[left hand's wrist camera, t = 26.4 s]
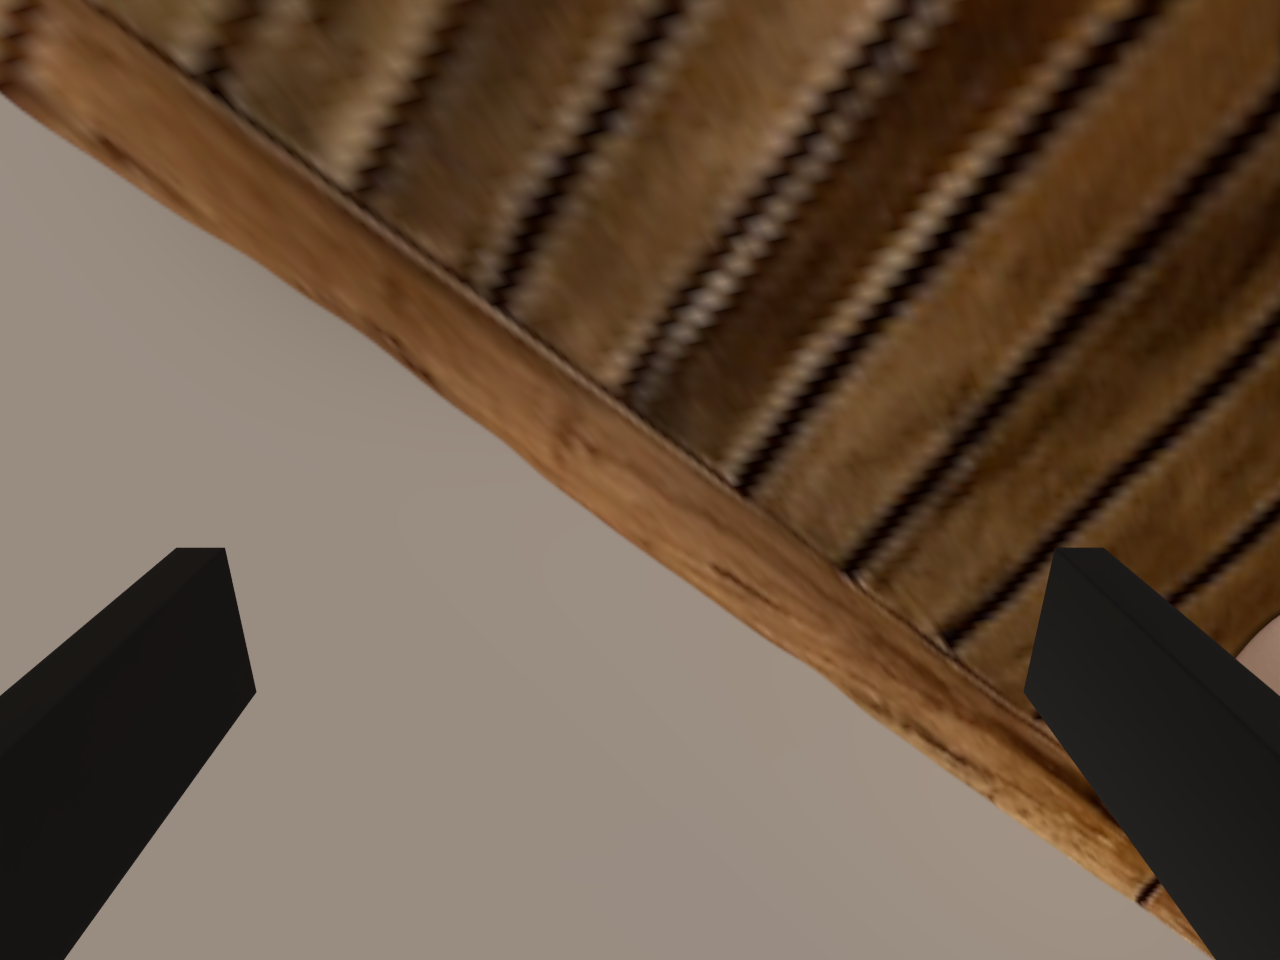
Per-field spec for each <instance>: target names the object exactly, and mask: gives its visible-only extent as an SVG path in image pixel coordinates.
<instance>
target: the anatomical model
mask: <svg viewBox="0 0 1280 960" xmlns="http://www.w3.org/2000/svg"><path fill="white" fill-rule="evenodd" d="M1236 659H1237V660H1238V661H1239V662H1240V663H1241V664H1242V665H1244V666H1245V667H1246V668H1247V669H1248V670H1250V671H1251V672H1252V673H1253V674H1254V675H1256V676H1257V677H1258V678H1259V679H1260V680H1262V681H1263V682H1264V683H1265V684H1266V685H1267V686H1269V687H1270V688H1271V689H1272V690H1273V691H1275V692H1276V693H1277V694H1278V695H1279V696H1280V615H1279V616H1277V617H1276V618H1275V619H1273V620H1272V621H1271V622H1270V623H1268V624H1267V625H1266V626H1265V627H1264V628H1263V629H1262V630H1260V631H1259V632H1258V633H1257V634H1256V636H1255V637H1254V638H1253V639H1252V640H1251V641H1250V642H1249V643H1248V644H1247V645H1246V646H1245V648H1244V649H1243V650H1242V651H1241V652H1240V653H1239V655H1238V656H1237V657H1236Z"/></svg>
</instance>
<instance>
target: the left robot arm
mask: <svg viewBox="0 0 1280 960" xmlns="http://www.w3.org/2000/svg"><path fill="white" fill-rule="evenodd" d="M255 693H256V688H255V684H254V679H253V674H252V670H251V665H250V661H249V656H248V651H247V647H246V642H245V638H244V633H243V628H242V624H241V619H240V615H239V610H238V605H237V601H236V596H235V592H234V587H233V583H232V578H231V573H230V569H229V564H228V560H227V555H226V550H225V548H176V549H174V550H173V551H172V552H171V553H170V554H168V555H167V556H166V557H165V558H164V559H163V560H161V561H160V562H159V563H158V564H157V565H155V566H154V567H153V568H152V569H151V570H149V571H148V572H147V573H146V574H145V575H143V576H142V577H141V578H140V579H139V580H138V581H136V582H135V583H134V584H133V585H132V586H130V587H129V588H128V589H127V590H126V591H125V592H123V593H122V594H121V595H120V596H118V597H117V598H116V599H115V600H114V601H113V602H111V603H110V604H109V605H108V606H107V607H105V608H104V609H103V610H102V611H101V612H99V613H98V614H97V615H96V616H95V617H94V618H92V619H91V620H90V621H89V622H88V623H86V624H85V625H84V626H83V627H82V628H80V629H79V630H78V631H77V632H76V633H75V634H73V635H72V636H71V637H70V638H69V639H67V640H66V641H65V642H64V643H63V644H61V645H60V646H59V647H58V648H57V649H55V650H54V651H53V652H52V653H51V654H49V655H48V656H47V657H46V658H45V659H43V660H42V661H41V662H40V663H39V664H38V665H36V666H35V667H34V668H33V669H32V670H30V671H29V672H28V673H27V674H26V675H24V676H23V677H22V678H21V679H20V680H18V681H17V682H16V683H15V684H14V685H13V686H11V687H10V688H9V689H8V690H7V691H5V692H4V693H3V694H2V695H1V696H0V960H64V959H65V958H66V956H67V955H68V953H69V952H70V951H71V949H72V948H73V947H74V945H75V944H76V942H77V941H78V940H79V938H80V937H81V935H82V934H83V932H84V931H85V930H86V928H87V927H88V926H89V924H90V923H91V921H92V920H93V919H94V917H95V916H96V915H97V913H98V912H99V910H100V909H101V908H102V906H103V905H104V903H105V902H106V901H107V899H108V898H109V896H110V895H111V894H112V892H113V891H114V889H115V888H116V887H117V885H118V884H119V883H120V881H121V880H122V878H123V877H124V876H125V874H126V873H127V871H128V870H129V869H130V867H131V866H132V864H133V863H134V862H135V860H136V859H137V857H138V856H139V855H140V853H141V852H142V851H143V849H144V848H145V846H146V845H147V843H148V842H149V841H150V839H151V838H152V837H153V835H154V834H155V832H156V831H157V829H158V828H159V827H160V825H161V824H162V823H163V821H164V820H165V819H166V817H167V816H168V814H169V813H170V812H171V810H172V809H173V807H174V806H175V805H176V803H177V802H178V800H179V799H180V798H181V796H182V795H183V793H184V792H185V791H186V789H187V788H188V787H189V785H190V784H191V782H192V781H193V779H194V778H195V777H196V775H197V774H198V773H199V771H200V770H201V768H202V767H203V766H204V764H205V763H206V761H207V760H208V759H209V757H210V756H211V755H212V753H213V752H214V750H215V749H216V748H217V746H218V745H219V743H220V742H221V741H222V739H223V738H224V736H225V735H226V734H227V732H228V731H229V729H230V728H231V727H232V725H233V724H234V723H235V721H236V720H237V718H238V717H239V716H240V714H241V713H242V711H243V710H244V709H245V707H246V706H247V704H248V703H249V702H250V700H251V699H252V697H253V696H254V695H255ZM1024 693H1025V695H1026V696H1027V697H1028V699H1029V700H1030V702H1031V703H1032V704H1033V706H1034V707H1035V709H1036V710H1037V711H1038V713H1039V714H1040V716H1041V717H1042V718H1043V720H1044V721H1045V723H1046V724H1047V725H1048V727H1049V728H1050V729H1051V731H1052V732H1053V734H1054V735H1055V736H1056V738H1057V739H1058V741H1059V742H1060V743H1061V745H1062V746H1063V748H1064V749H1065V750H1066V752H1067V753H1068V755H1069V756H1070V757H1071V759H1072V760H1073V761H1074V763H1075V764H1076V766H1077V767H1078V768H1079V770H1080V771H1081V773H1082V774H1083V775H1084V777H1085V778H1086V780H1087V781H1088V782H1089V784H1090V785H1091V787H1092V788H1093V789H1094V791H1095V792H1096V793H1097V795H1098V796H1099V798H1100V799H1101V800H1102V802H1103V803H1104V805H1105V806H1106V807H1107V809H1108V810H1109V812H1110V813H1111V814H1112V816H1113V817H1114V819H1115V820H1116V821H1117V823H1118V824H1119V825H1120V827H1121V828H1122V830H1123V831H1124V832H1125V834H1126V835H1127V837H1128V838H1129V839H1130V841H1131V842H1132V844H1133V845H1134V846H1135V848H1136V849H1137V851H1138V852H1139V853H1140V855H1141V856H1142V857H1143V859H1144V860H1145V862H1146V863H1147V864H1148V866H1149V867H1150V869H1151V870H1152V871H1153V873H1154V874H1155V876H1156V877H1157V878H1158V880H1159V881H1160V883H1161V884H1162V885H1163V887H1164V888H1165V889H1166V891H1167V892H1168V894H1169V895H1170V896H1171V898H1172V899H1173V901H1174V902H1175V903H1176V905H1177V906H1178V908H1179V909H1180V910H1181V912H1182V913H1183V915H1184V916H1185V917H1186V919H1187V920H1188V921H1189V923H1190V924H1191V926H1192V927H1193V928H1194V930H1195V931H1196V933H1197V934H1198V935H1199V937H1200V938H1201V940H1202V941H1203V942H1204V944H1205V945H1206V947H1207V948H1208V949H1209V951H1210V952H1211V953H1212V955H1213V956H1214V958H1215V959H1216V960H1280V696H1279V695H1278V694H1277V693H1276V692H1275V691H1273V690H1272V689H1271V688H1270V687H1269V686H1267V685H1266V684H1265V683H1264V682H1263V681H1262V680H1260V679H1259V678H1258V677H1257V676H1256V675H1254V674H1253V673H1252V672H1251V671H1250V670H1248V669H1247V668H1246V667H1245V666H1244V665H1242V664H1241V663H1240V662H1239V661H1238V660H1237V659H1235V658H1234V657H1233V656H1232V655H1231V654H1229V653H1228V652H1227V651H1226V650H1225V649H1223V648H1222V647H1221V646H1220V645H1219V644H1217V643H1216V642H1215V641H1214V640H1213V639H1212V638H1210V637H1209V636H1208V635H1207V634H1206V633H1204V632H1203V631H1202V630H1201V629H1200V628H1198V627H1197V626H1196V625H1195V624H1194V623H1192V622H1191V621H1190V620H1189V619H1188V618H1187V617H1185V616H1184V615H1183V614H1182V613H1181V612H1179V611H1178V610H1177V609H1176V608H1175V607H1173V606H1172V605H1171V604H1170V603H1169V602H1167V601H1166V600H1165V599H1164V598H1163V597H1162V596H1160V595H1159V594H1158V593H1157V592H1156V591H1154V590H1153V589H1152V588H1151V587H1150V586H1148V585H1147V584H1146V583H1145V582H1144V581H1142V580H1141V579H1140V578H1139V577H1138V576H1137V575H1135V574H1134V573H1133V572H1132V571H1131V570H1129V569H1128V568H1127V567H1126V566H1125V565H1123V564H1122V563H1121V562H1120V561H1119V560H1117V559H1116V558H1115V557H1114V556H1113V555H1112V554H1110V553H1109V552H1108V551H1107V550H1106V549H1104V548H1055V550H1054V555H1053V560H1052V564H1051V569H1050V573H1049V578H1048V583H1047V587H1046V592H1045V596H1044V601H1043V605H1042V610H1041V615H1040V619H1039V624H1038V628H1037V633H1036V638H1035V642H1034V647H1033V651H1032V656H1031V660H1030V665H1029V670H1028V674H1027V679H1026V683H1025V688H1024Z"/></svg>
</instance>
